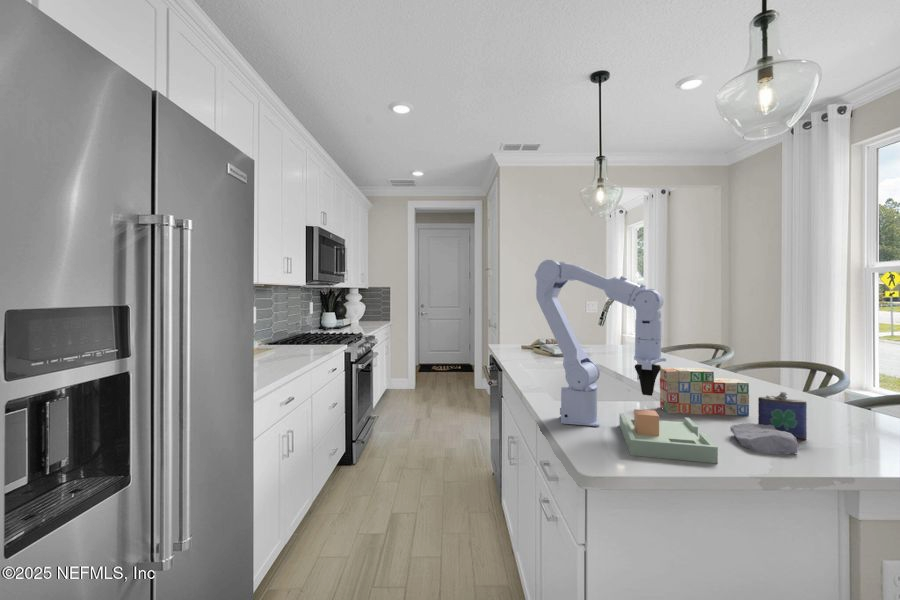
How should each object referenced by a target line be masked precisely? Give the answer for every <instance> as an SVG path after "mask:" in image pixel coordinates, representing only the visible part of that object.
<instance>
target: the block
mask: <svg viewBox="0 0 900 600" xmlns="http://www.w3.org/2000/svg"><path fill="white" fill-rule="evenodd" d="M633 413H634V414H633V415H634V416H633V419H634V429H635V431H636V433H637V434H640V435H652V436H659V421H660V415H659V414H658V412H657V411H656V410H649V409H633Z"/></svg>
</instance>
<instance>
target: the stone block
mask: <svg viewBox="0 0 900 600" xmlns="http://www.w3.org/2000/svg"><path fill="white" fill-rule="evenodd" d="M729 428H730V432H731V433H732V434H733V435H734V437H735V438H736V439H737V441H738V443H740V445H741V446H742V448H746V449H747V450H749V451H753V452H755V453H760V452H764V453H763V454H770V453H771V454H776V453H778V454H781V453H797V454H798V448H799V447H798V446H799V445H798V440H796V437H794V436H793V435H792V434H791V433H789V432H785V431H778V430H777V429H775V427H774V426H773V425H762V424H761V425H760V424H758V423H753V422H751V423H750V422H740V423H737V424H733V425H730V427H729Z"/></svg>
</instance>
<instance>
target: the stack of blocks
mask: <svg viewBox="0 0 900 600" xmlns="http://www.w3.org/2000/svg"><path fill="white" fill-rule="evenodd" d="M714 373H715V372H714V371H713V370H710V369H707V368H705V367H661V369H660V371H659V396H660V397H659V401H660V402H659V407H661V408H660V409H662V408H663V409H664V410H665V411H664V412H666V413H667V412H670V413H669V414H680V413H684V415H711V414H713V415H714V414H720V415H719V416H722V415H723V416H741V417H742V416H744V417H746V416H749V415H750V393H749V391H750V389H749V387H750V386H749V383H750V382H747V381H744V380H741V379H738V378H726V377H725V378H722V377H721V378H720V377H719V378H717V377H714V376H715V374H714ZM663 409H662V410H663Z"/></svg>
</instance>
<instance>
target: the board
mask: <svg viewBox="0 0 900 600" xmlns="http://www.w3.org/2000/svg"><path fill="white" fill-rule="evenodd" d="M619 427H620V430H622V431H621V433H622V436H623V438H624V441H625V444H626V446H627V448H628V449H627V450H628V451H629V453H630V454H629V455H630V456H633V457H634V456H636V457H645V458H648V457H649V458H658V459H667V460H678V461H687V462H688V461H690V462H699V463H710V464H718V463H719V462H718V455H719V452H718V451H719V450H718V449H719V446H717V445H716V444H715V443H714V442H713V441H712V440H711V439H710V438H709V436H707V435H706V434H705V433H699V432H698V431H699V427H698V425H697V424H696V423H695V422H694V420H692V419H691V418H690V417H684V421H672V420H659V436H652V435H640V434H637V433H636V431H635V429H634V418H630V417H626V415H625V413H624V412H620V413H619Z"/></svg>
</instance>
